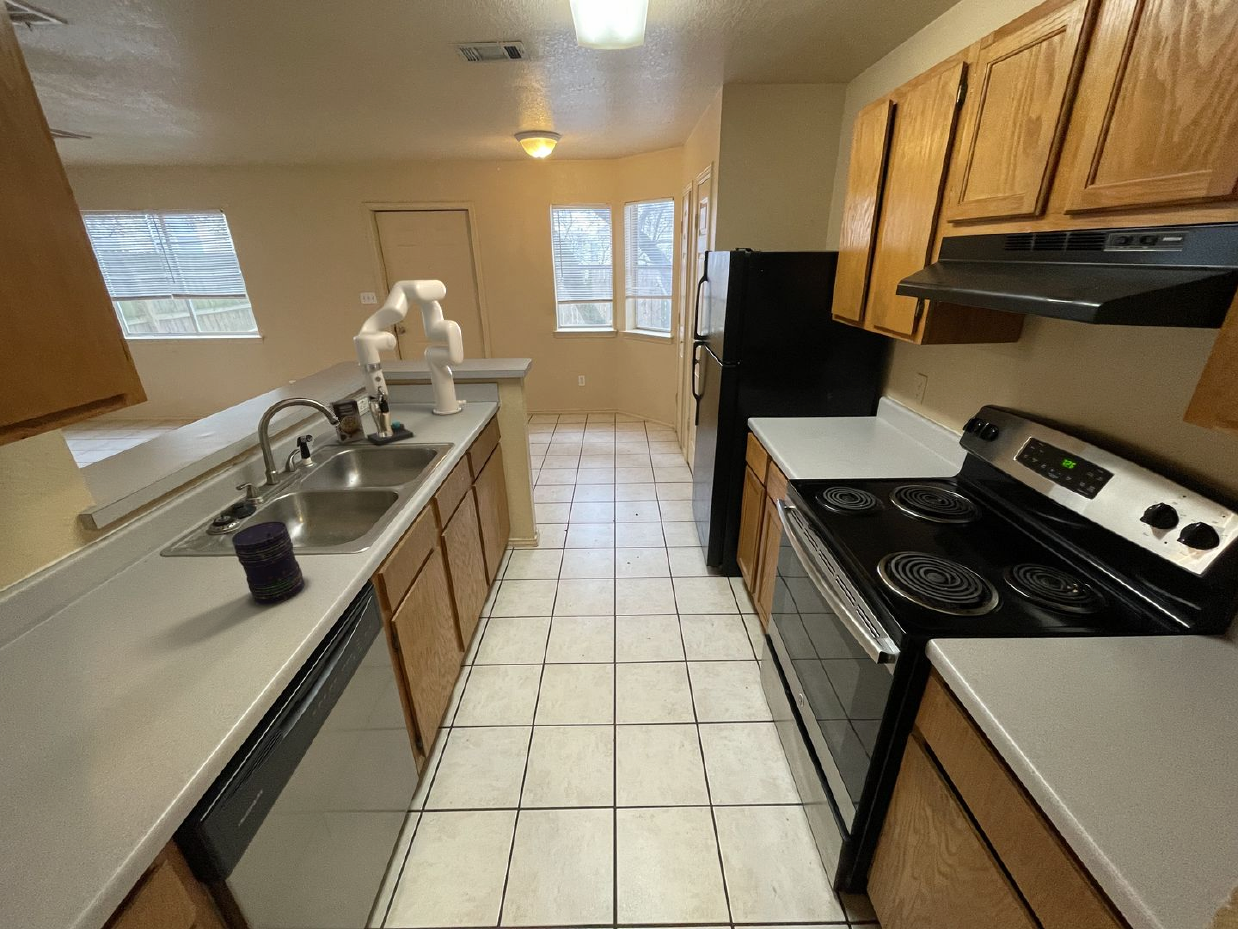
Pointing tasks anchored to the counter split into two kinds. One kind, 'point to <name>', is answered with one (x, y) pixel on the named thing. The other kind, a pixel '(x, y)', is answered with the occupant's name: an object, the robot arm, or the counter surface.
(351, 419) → the cookie box
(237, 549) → the storage jar
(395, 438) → the scale
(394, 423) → the scale button
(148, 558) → the counter surface
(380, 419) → the beer glass
